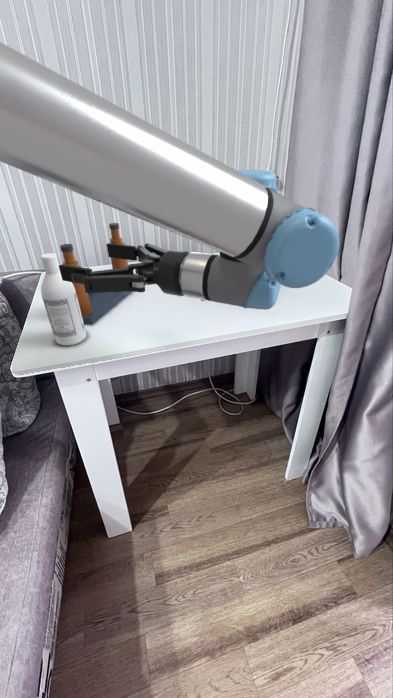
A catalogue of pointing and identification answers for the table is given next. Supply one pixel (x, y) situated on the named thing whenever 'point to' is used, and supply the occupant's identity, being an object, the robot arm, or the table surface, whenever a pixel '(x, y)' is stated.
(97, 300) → the tray
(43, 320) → the table surface
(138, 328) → the table surface
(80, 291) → the amber bottle near
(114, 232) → the amber bottle far
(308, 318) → the table surface
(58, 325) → the bath foam
